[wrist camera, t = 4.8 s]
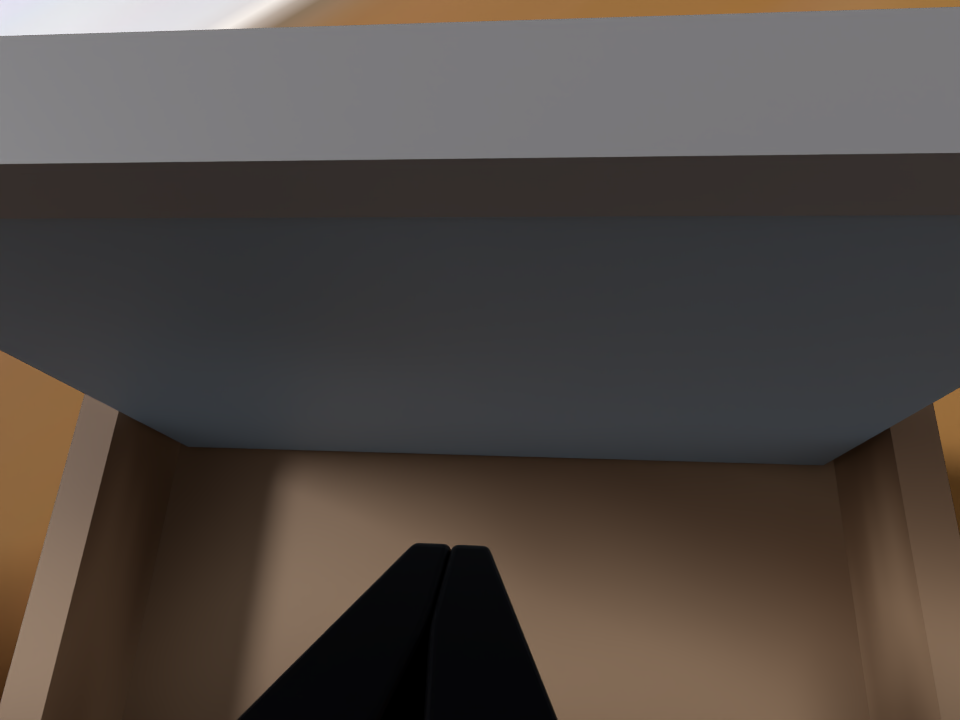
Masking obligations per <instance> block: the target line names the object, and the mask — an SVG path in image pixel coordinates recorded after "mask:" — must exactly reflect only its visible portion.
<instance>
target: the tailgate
mask: <svg viewBox="0 0 960 720" xmlns="http://www.w3.org/2000/svg"><path fill="white" fill-rule="evenodd" d="M0 350H1V351H3V352H5V353H7V354H9V355H11V356H13V357H15V358H17V359H19V360H21V361H23V362H24V363H26V364H28V365H30V366H32V367H34V368H36V369H38V370H40V371H42V372H44V373H46V374H48V375H50V376H52V377H54V378H56V379H57V380H59V381H61V382H63V383H65V384H67V385H69V386H71V387H73V388H75V389H77V390H79V391H81V392H83V393H85V394H87V395H89V396H90V397H92V398H94V399H96V400H98V401H100V402H102V403H104V404H106V405H108V406H110V407H112V408H114V409H116V410H118V411H120V412H122V413H123V414H125V415H127V416H129V417H131V418H133V419H135V420H137V421H139V422H141V423H143V424H145V425H147V426H149V427H151V428H153V429H155V430H156V431H158V432H160V433H162V434H164V435H166V436H168V437H170V438H172V439H174V440H176V441H178V442H180V443H182V444H184V445H186V446H187V447H212V448H246V449H280V450H314V451H348V452H382V453H417V454H451V455H485V456H519V457H553V458H587V459H622V460H656V461H690V462H724V463H758V464H793V465H825V464H827V463H828V462H830V461H832V460H834V459H835V458H837V457H839V456H841V455H842V454H844V453H846V452H848V451H849V450H851V449H853V448H855V447H856V446H858V445H860V444H862V443H863V442H865V441H867V440H869V439H870V438H872V437H874V436H876V435H877V434H879V433H881V432H883V431H884V430H886V429H888V428H890V427H891V426H893V425H895V424H897V423H898V422H900V421H902V420H904V419H905V418H907V417H909V416H911V415H912V414H914V413H916V412H918V411H919V410H921V409H923V408H925V407H926V406H928V405H930V404H932V403H933V402H935V401H937V400H939V399H940V398H942V397H944V396H946V395H947V394H949V393H951V392H953V391H954V390H956V389H958V388H960V7H941V8H908V9H875V10H843V11H810V12H777V13H744V14H711V15H679V16H646V17H613V18H580V19H547V20H515V21H482V22H449V23H416V24H383V25H351V26H318V27H285V28H252V29H219V30H187V31H154V32H121V33H88V34H55V35H22V36H0Z"/></svg>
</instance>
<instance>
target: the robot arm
mask: <svg viewBox="0 0 960 720" xmlns="http://www.w3.org/2000/svg"><path fill="white" fill-rule="evenodd" d="M237 720H558V719H557V716H556V714H555V711H554V709H553V706H552V704H551V701H550V699H549V696H548V694H547V691H546V689H545V686H544V684H543V681H542V679H541V676H540V674H539V671H538V669H537V666H536V664H535V661H534V658H533V656H532V653H531V651H530V648H529V646H528V643H527V641H526V638H525V636H524V633H523V631H522V628H521V626H520V623H519V621H518V618H517V616H516V613H515V611H514V608H513V606H512V603H511V601H510V598H509V596H508V593H507V591H506V588H505V586H504V583H503V581H502V578H501V576H500V573H499V571H498V568H497V566H496V563H495V561H494V558H493V556H492V553H491V551H490V550H489V548H488V547H486V546H478V545H455V546H454V547H453V548H452V549H450V547H449V546H448V545H447V544H435V543H416V544H414V545H412V546H411V547H410V548H408V549H407V550H406V551H405V552H404V553H403V554H402V555H401V556H400V557H399V558H398V559H397V560H396V561H395V562H394V563H393V564H392V565H391V566H390V567H389V568H388V569H387V570H386V571H385V572H384V573H383V574H382V575H381V576H380V577H379V578H378V579H377V580H376V581H375V582H374V583H373V584H372V585H371V586H370V587H369V588H368V589H367V590H366V591H365V592H364V593H363V594H362V595H361V596H360V597H359V598H358V599H357V600H356V601H355V602H354V603H353V604H352V605H351V606H350V607H349V608H348V609H347V610H346V611H345V612H344V613H343V614H342V615H341V616H340V617H339V618H338V619H337V620H336V621H335V622H334V623H333V624H332V625H331V626H330V627H329V628H328V629H327V630H326V631H325V632H324V633H323V634H322V635H321V636H320V637H319V638H318V639H317V640H316V641H315V642H314V643H313V644H312V645H311V646H310V647H309V648H308V649H307V650H306V651H305V652H304V653H303V654H302V655H301V656H300V657H299V658H298V659H297V660H296V661H295V662H294V663H293V664H292V665H291V666H290V667H289V668H288V669H287V670H286V671H285V672H284V673H283V674H282V675H281V676H280V677H279V678H278V679H277V680H276V681H275V682H274V683H273V684H272V685H271V686H270V687H269V688H268V689H267V690H266V691H265V692H264V693H263V694H262V695H261V696H260V697H259V698H258V699H257V700H256V701H255V702H254V703H253V704H252V705H251V706H250V707H249V708H248V709H247V710H246V711H245V712H244V713H243V714H242V715H241V716H240V717H239V718H238V719H237Z"/></svg>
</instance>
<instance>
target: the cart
mask: <svg viewBox="0 0 960 720" xmlns="http://www.w3.org/2000/svg"><path fill="white" fill-rule="evenodd" d="M416 543H435V544H447V545H448V546H449V547H450V549H452V548H453V547H454V546H455V545H478V546H486V547H488V548H489V550H490V551H491V553H492V556H493V558H494V561H495V563H496V566H497V568H498V571H499V573H500V576H501V578H502V581H503V583H504V586H505V588H506V591H507V593H508V596H509V598H510V601H511V603H512V606H513V608H514V611H515V613H516V616H517V618H518V621H519V623H520V626H521V628H522V631H523V633H524V636H525V638H526V641H527V643H528V646H529V648H530V651H531V653H532V656H533V658H534V661H535V664H536V666H537V669H538V671H539V674H540V676H541V679H542V681H543V684H544V686H545V689H546V691H547V694H548V696H549V699H550V701H551V704H552V706H553V709H554V711H555V714H556V716H557V719H558V720H960V535H959V530H958V525H957V520H956V515H955V510H954V505H953V500H952V495H951V490H950V485H949V481H948V476H947V471H946V466H945V461H944V456H943V451H942V446H941V441H940V436H939V431H938V426H937V421H936V416H935V411H934V406H933V403H932V404H930V405H928V406H926V407H925V408H923V409H921V410H919V411H918V412H916V413H914V414H912V415H911V416H909V417H907V418H905V419H904V420H902V421H900V422H898V423H897V424H895V425H893V426H891V427H890V428H888V429H886V430H884V431H883V432H881V433H879V434H877V435H876V436H874V437H872V438H870V439H869V440H867V441H865V442H863V443H862V444H860V445H858V446H856V447H855V448H853V449H851V450H849V451H848V452H846V453H844V454H842V455H841V456H839V457H837V458H835V459H834V460H832V461H830V462H828V463H827V464H825V465H793V464H758V463H724V462H690V461H656V460H622V459H587V458H553V457H519V456H485V455H451V454H417V453H382V452H348V451H314V450H280V449H246V448H212V447H187V446H186V445H184V444H182V443H180V442H178V441H176V440H174V439H172V438H170V437H168V436H166V435H164V434H162V433H160V432H158V431H156V430H155V429H153V428H151V427H149V426H147V425H145V424H143V423H141V422H139V421H137V420H135V419H133V418H131V417H129V416H127V415H125V414H123V413H122V412H120V411H118V410H116V409H114V408H112V407H110V406H108V405H106V404H104V403H102V402H100V401H98V400H96V399H94V398H92V397H90V396H89V395H87V394H85V395H84V399H83V402H82V406H81V410H80V413H79V417H78V421H77V424H76V428H75V432H74V435H73V439H72V442H71V446H70V450H69V453H68V457H67V461H66V464H65V468H64V472H63V475H62V479H61V483H60V486H59V490H58V494H57V497H56V501H55V505H54V508H53V512H52V516H51V519H50V523H49V527H48V530H47V534H46V538H45V541H44V545H43V549H42V552H41V556H40V560H39V563H38V567H37V571H36V574H35V578H34V581H33V585H32V589H31V592H30V596H29V600H28V603H27V607H26V611H25V614H24V618H23V622H22V625H21V629H20V633H19V636H18V640H17V644H16V647H15V651H14V655H13V658H12V662H11V666H10V669H9V673H8V677H7V680H6V684H5V688H4V691H3V695H2V699H1V702H0V720H237V719H238V718H239V717H240V716H241V715H242V714H243V713H244V712H245V711H246V710H247V709H248V708H249V707H250V706H251V705H252V704H253V703H254V702H255V701H256V700H257V699H258V698H259V697H260V696H261V695H262V694H263V693H264V692H265V691H266V690H267V689H268V688H269V687H270V686H271V685H272V684H273V683H274V682H275V681H276V680H277V679H278V678H279V677H280V676H281V675H282V674H283V673H284V672H285V671H286V670H287V669H288V668H289V667H290V666H291V665H292V664H293V663H294V662H295V661H296V660H297V659H298V658H299V657H300V656H301V655H302V654H303V653H304V652H305V651H306V650H307V649H308V648H309V647H310V646H311V645H312V644H313V643H314V642H315V641H316V640H317V639H318V638H319V637H320V636H321V635H322V634H323V633H324V632H325V631H326V630H327V629H328V628H329V627H330V626H331V625H332V624H333V623H334V622H335V621H336V620H337V619H338V618H339V617H340V616H341V615H342V614H343V613H344V612H345V611H346V610H347V609H348V608H349V607H350V606H351V605H352V604H353V603H354V602H355V601H356V600H357V599H358V598H359V597H360V596H361V595H362V594H363V593H364V592H365V591H366V590H367V589H368V588H369V587H370V586H371V585H372V584H373V583H374V582H375V581H376V580H377V579H378V578H379V577H380V576H381V575H382V574H383V573H384V572H385V571H386V570H387V569H388V568H389V567H390V566H391V565H392V564H393V563H394V562H395V561H396V560H397V559H398V558H399V557H400V556H401V555H402V554H403V553H404V552H405V551H406V550H407V549H408V548H410V547H411V546H412V545H414V544H416Z"/></svg>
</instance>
